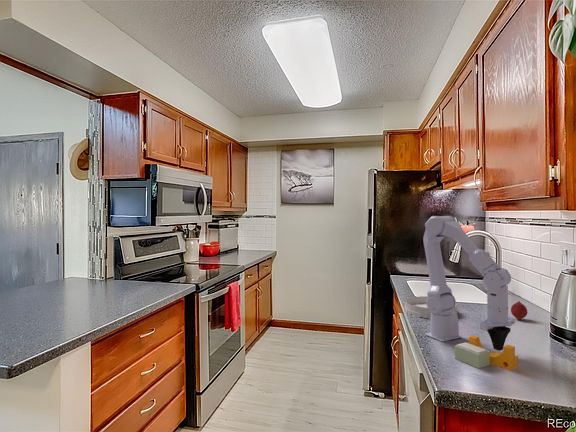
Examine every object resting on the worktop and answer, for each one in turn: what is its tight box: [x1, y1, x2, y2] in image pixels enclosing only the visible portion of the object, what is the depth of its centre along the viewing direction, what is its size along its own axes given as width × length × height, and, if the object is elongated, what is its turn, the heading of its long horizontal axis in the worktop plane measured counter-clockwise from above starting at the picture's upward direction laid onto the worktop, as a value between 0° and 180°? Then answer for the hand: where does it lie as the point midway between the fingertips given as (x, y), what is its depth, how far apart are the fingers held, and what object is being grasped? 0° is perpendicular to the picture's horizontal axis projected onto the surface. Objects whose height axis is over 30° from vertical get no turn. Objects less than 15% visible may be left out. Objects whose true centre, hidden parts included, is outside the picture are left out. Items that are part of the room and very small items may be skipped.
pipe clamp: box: [468, 335, 519, 371], centre depth 105 cm, size 12×4×6 cm, turn 35°
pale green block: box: [454, 342, 491, 369], centre depth 105 cm, size 5×8×4 cm, turn 26°
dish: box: [404, 296, 458, 320], centre depth 157 cm, size 22×22×5 cm
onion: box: [510, 299, 528, 321], centre depth 145 cm, size 6×6×8 cm
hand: (498, 349), depth 110 cm, fingers closed
